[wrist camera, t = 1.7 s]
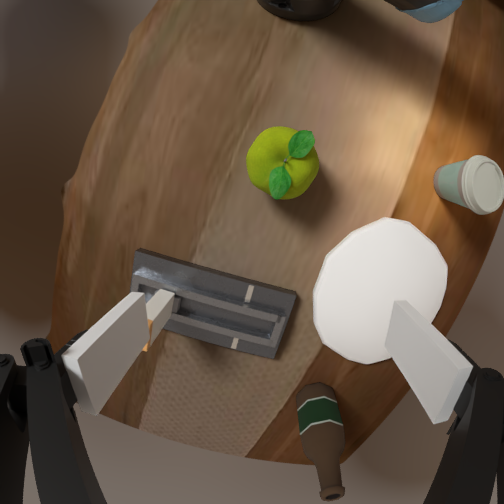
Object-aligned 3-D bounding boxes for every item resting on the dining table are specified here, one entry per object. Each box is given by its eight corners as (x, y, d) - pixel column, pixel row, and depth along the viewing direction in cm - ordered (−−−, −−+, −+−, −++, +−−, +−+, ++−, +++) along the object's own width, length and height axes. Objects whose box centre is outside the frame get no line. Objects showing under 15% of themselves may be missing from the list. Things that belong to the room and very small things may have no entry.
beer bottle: (300, 379, 50) (314, 485, 27) (339, 382, 50) (369, 482, 27) (291, 408, 52) (298, 508, 29) (327, 410, 52) (348, 506, 28)
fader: (155, 305, 45) (124, 343, 33) (159, 283, 44) (126, 316, 32) (178, 312, 45) (152, 353, 33) (182, 290, 45) (155, 327, 32)
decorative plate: (381, 190, 38) (472, 280, 40) (371, 189, 42) (460, 273, 44) (280, 326, 44) (386, 386, 46) (279, 314, 48) (380, 374, 50)
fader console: (132, 311, 48) (123, 320, 45) (140, 247, 46) (131, 253, 42) (273, 352, 49) (273, 364, 45) (295, 291, 46) (297, 299, 43)
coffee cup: (453, 216, 42) (496, 227, 30) (419, 191, 41) (461, 196, 30) (469, 174, 40) (512, 176, 28) (437, 148, 39) (479, 142, 28)
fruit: (323, 156, 41) (340, 149, 31) (289, 207, 43) (296, 214, 33) (271, 122, 40) (273, 105, 31) (237, 174, 42) (229, 171, 33)
